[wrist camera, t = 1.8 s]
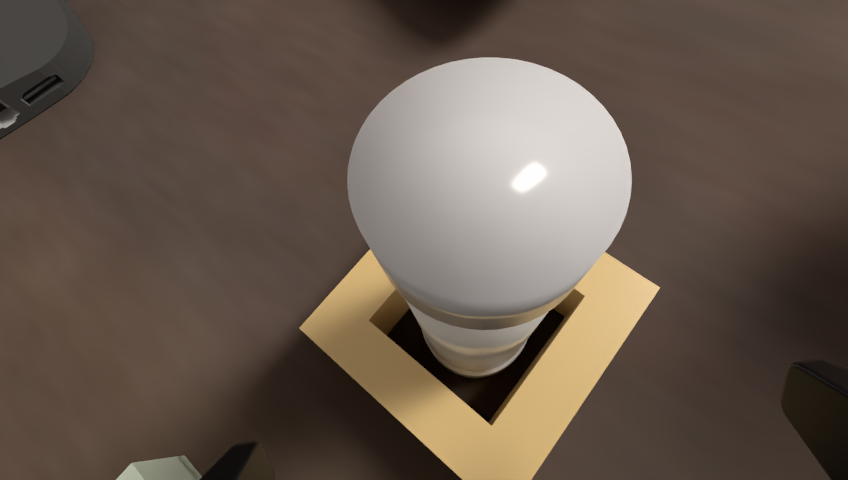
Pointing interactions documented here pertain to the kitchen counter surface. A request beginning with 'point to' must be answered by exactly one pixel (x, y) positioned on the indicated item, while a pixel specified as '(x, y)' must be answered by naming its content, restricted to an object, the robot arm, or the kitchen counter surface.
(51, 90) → the media streaming box
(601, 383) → the kitchen counter surface
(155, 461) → the parts tray
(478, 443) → the tan square frame
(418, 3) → the kitchen counter surface
